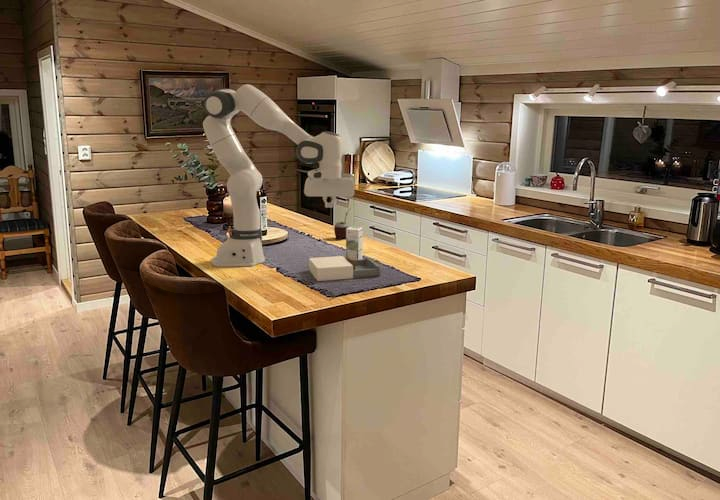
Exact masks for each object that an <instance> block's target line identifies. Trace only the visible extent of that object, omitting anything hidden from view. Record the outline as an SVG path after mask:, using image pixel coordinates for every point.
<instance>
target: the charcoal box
mask: <svg viewBox="0 0 720 500" xmlns="http://www.w3.org/2000/svg"><path fill="white" fill-rule="evenodd" d="M380 271H381V267H380V265H379V264H378V263H376V262H375V261H373V260H372V259H371V258H370V257H369V256H365V257H364V258H362V259H360V260H355V270H353V278H352V279H359V278H361V279H363V278H362V277H364V278H372V277H371V276H377V277H380V276H381V275H380V273H381V272H380Z"/></svg>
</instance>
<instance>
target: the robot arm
mask: <svg viewBox="0 0 720 500" xmlns="http://www.w3.org/2000/svg"><path fill="white" fill-rule="evenodd" d="M203 108H204V111H205V112H206V114H207V116H206V118H205V119H204V120H203V122H202V127H203V130H204V131H203V132H204V133H205V136H206V139H207V142H208V143H209V145H210V147H211V149H212V151H213V153H214V155H215V156H216V158H217V161H218V162H219V164H220V165H221V166H222V167H223V168H224V169H225V171H226V172H227V173H229V175H230V176H229V177H228V180H227V183H226V189H227V191H228V193H229V198H230V199H229V200H230V202H231V206H232V214H233V228H231V227H230V228H227V234H228V235H229V238H228V239H226V240H225V241H223V243H221V244H220V245H219V246H218V248H217V250H216V254H215V255H216V256H214V257H212V258H211V265H212V266H214V267H219V268H221V267H222V268H225V267H226V268H228V267H253V266H256V265H257V264H258V265H259V264H261V263H264V262H265V261H266V257H265V255H264V250H263V244H262V243H263V242H262V241H263V232H262V231H263V230H262V227H261V210H260V208H259V204H258V199H257V192H259V190H260V189H261V188H262V185H263V181H264V180H263V179H264V178H263V175H262V174H261V172H260V171H259V170H258V169H257V167H256V166H255V165H254V163H253V161H252V160H251V158H249V156H248V155H247V153H246V152H245V150H244V148H243V146H242V144H241V142H240V141H239V139H238V137H237V135H236V133H235V131H234V130H233V126H232V124H231V121H233V120H235V119H236V117H238V116H239V114H240V113H244V114H245V115H246V116H247V117H248V118H250V119H251V120H252V121H253V122H254V123H256V124H257V125H259V126H260V127H261V128H264V129H266V130H270V131H275V132H278V133H282V134H283V135H285V136H286V137H287V138H288V139H290V140H292V141H291V142H294V144H296V145H297V146H296V148H295V155H296V157H297V160H299V161H300V162H301V163H303V164H306V165H307V164H309V165H310V164H315V163H318V164H319V167H318V168H314V169H312V170H309V171H307V176H308V177H307V178H306V180H305V183H304V187H303V188H304V189H303V193H304V195H305V196H306V197H322V200H323V202H324V207H325V208H326V209H327V208H332V209H333V208H334V203H335V202H336V200H337V197H338V198H339V197H341V198H342V197H343V198H345V197H347V198H349V197H350V198H351V197H354V196H355V183H356V177H355V175H354V174H352V173H344V172H343V173H342V168H343V165H342V157H343V140H342V137H341V135H339V134H338V133H336V132H332V131H323V132H321V133H319V134H318V135H316V136H314V135H311V134H310V133H308V132H307V131H306V130H304V129H303V128H302V127H301V126H299V125H298V124H297V123H296V122H295V121H293V119H291V118H290V117H289V116H288V115H287V114H286V112H284V111H283V110H282V109H281V108H280V106H278V104H276V102H274V101H273V99H271V98H270V97H269V96H268V95H266V94H265V93H264V92H263V91H261V90H260V89H258V88H257V87H255V86H254V85H252V84H249V83H246V84H242V85H241V86H239V87H238V88H237V89H234V88H222V89H219V90H214V91H211V92H209V93H208V94H207V95H206V96H205V98H204V100H203ZM328 197H329V198H331V201H329V202H328V201H327V200H328Z"/></svg>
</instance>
